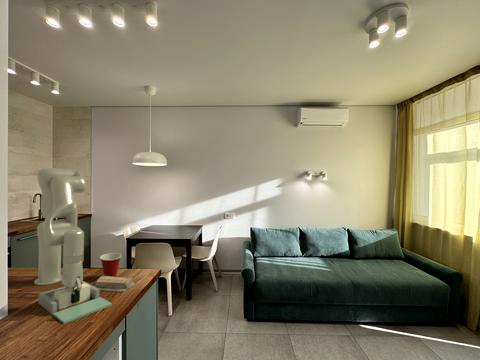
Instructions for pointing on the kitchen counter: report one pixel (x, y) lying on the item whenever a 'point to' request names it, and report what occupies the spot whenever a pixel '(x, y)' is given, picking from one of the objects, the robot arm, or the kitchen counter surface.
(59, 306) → the carton
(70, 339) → the kitchen counter surface
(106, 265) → the plastic cup
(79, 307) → the pad
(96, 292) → the frame
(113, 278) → the packaged product
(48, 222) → the robot arm
